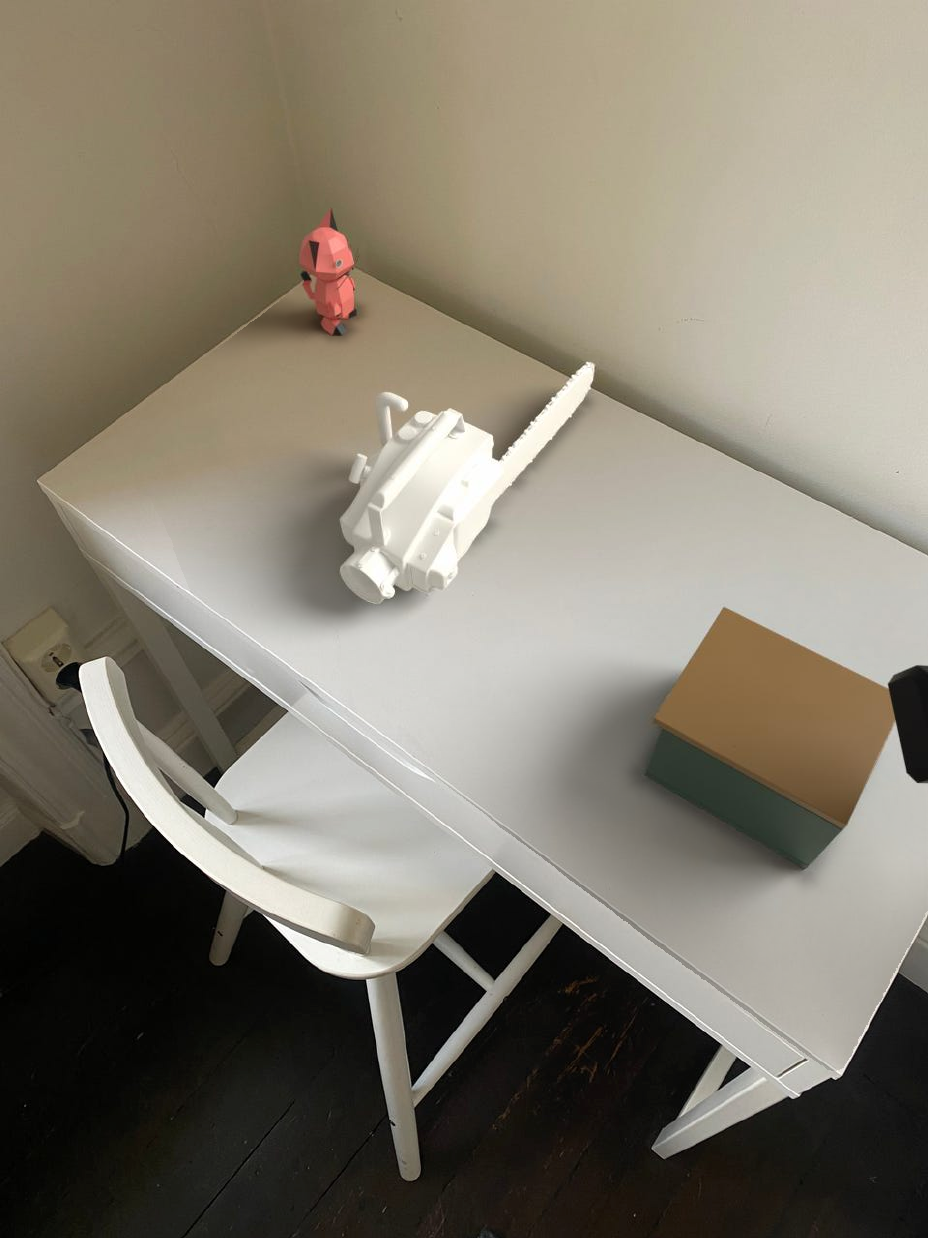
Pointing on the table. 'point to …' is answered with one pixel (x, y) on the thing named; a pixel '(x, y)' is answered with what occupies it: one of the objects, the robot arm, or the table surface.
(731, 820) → the green open box
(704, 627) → the table surface
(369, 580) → the chainsaw
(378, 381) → the table surface
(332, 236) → the cat figurine
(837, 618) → the table surface
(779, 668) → the lid
